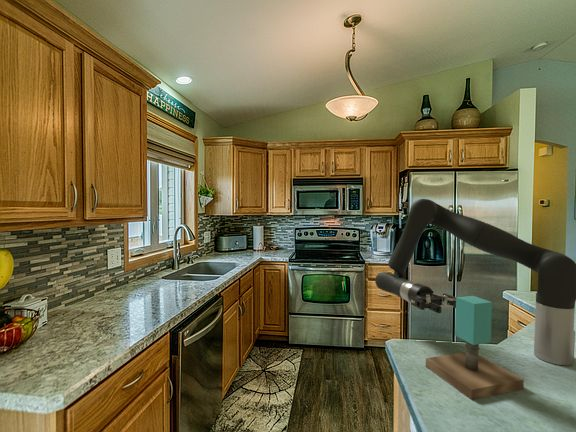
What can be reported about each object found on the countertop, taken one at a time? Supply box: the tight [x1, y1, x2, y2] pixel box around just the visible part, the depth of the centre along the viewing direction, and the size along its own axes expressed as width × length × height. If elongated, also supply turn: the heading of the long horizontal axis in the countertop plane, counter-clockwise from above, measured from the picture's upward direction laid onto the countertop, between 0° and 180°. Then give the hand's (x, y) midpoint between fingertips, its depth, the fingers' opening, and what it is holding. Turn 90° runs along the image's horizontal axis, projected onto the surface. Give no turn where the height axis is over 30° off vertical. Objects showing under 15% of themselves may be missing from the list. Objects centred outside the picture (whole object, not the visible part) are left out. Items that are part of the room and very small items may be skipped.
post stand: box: [425, 341, 525, 400], centre depth 85 cm, size 17×16×12 cm
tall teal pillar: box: [454, 295, 493, 345], centre depth 85 cm, size 6×6×11 cm
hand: (452, 308), depth 92 cm, fingers open, 8 cm apart
